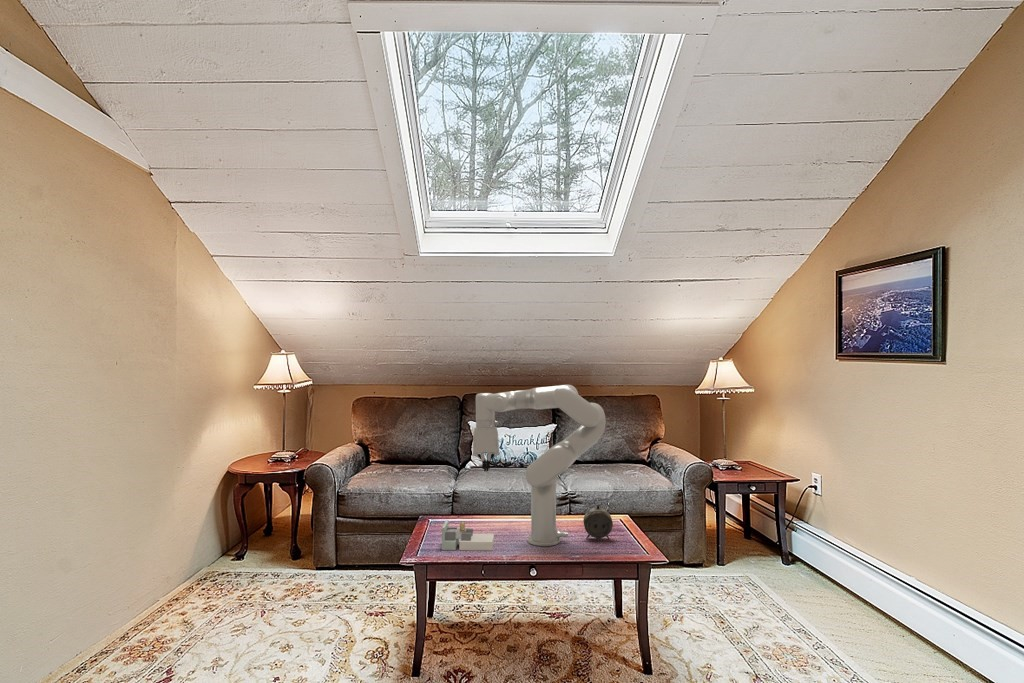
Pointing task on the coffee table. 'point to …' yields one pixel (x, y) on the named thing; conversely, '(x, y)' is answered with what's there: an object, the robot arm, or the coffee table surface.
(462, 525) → the bolt
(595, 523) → the alarm clock
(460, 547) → the door board
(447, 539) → the door jamb
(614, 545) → the coffee table surface
